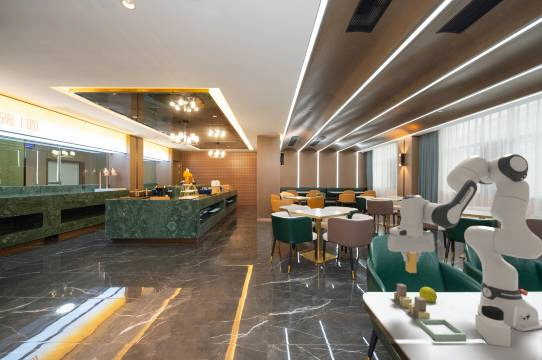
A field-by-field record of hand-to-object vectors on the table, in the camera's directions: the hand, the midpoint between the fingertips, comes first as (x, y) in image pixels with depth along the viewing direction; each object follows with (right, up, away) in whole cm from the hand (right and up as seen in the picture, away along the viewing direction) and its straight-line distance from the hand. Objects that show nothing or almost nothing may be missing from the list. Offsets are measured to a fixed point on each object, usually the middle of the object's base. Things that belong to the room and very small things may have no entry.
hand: (410, 261), depth 106 cm
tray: (+2, -22, -15) cm, 27 cm away
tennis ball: (+14, -24, +9) cm, 29 cm away
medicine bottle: (+19, -23, -18) cm, 35 cm away
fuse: (0, -5, 0) cm, 5 cm away
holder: (-1, -23, 0) cm, 23 cm away
